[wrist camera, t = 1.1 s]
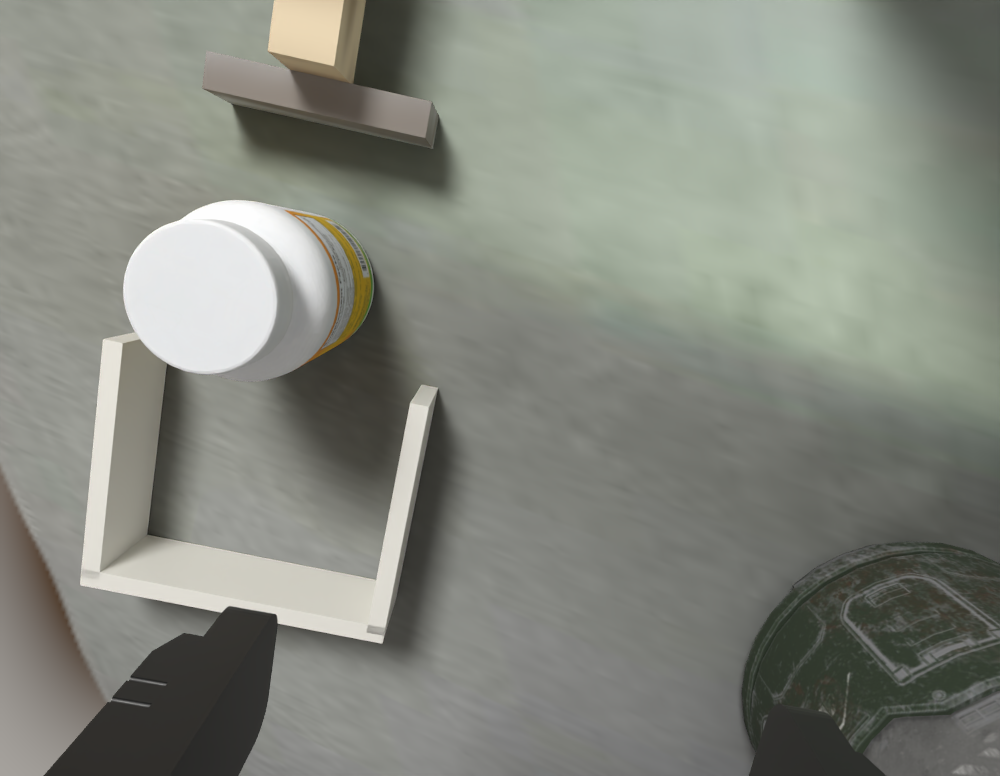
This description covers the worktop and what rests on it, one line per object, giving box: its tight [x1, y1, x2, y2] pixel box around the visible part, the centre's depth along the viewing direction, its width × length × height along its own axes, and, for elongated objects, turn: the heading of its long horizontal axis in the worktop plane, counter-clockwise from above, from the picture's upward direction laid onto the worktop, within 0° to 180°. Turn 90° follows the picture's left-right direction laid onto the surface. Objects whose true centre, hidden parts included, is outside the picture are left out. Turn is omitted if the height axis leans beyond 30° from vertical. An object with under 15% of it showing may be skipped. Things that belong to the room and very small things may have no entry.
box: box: [80, 332, 438, 644], centre depth 30 cm, size 11×14×4 cm
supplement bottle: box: [123, 200, 374, 382], centre depth 25 cm, size 6×6×11 cm
